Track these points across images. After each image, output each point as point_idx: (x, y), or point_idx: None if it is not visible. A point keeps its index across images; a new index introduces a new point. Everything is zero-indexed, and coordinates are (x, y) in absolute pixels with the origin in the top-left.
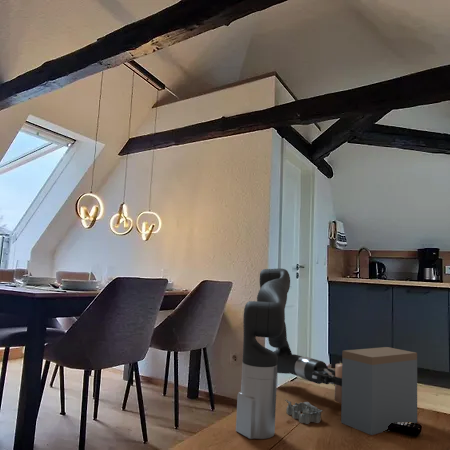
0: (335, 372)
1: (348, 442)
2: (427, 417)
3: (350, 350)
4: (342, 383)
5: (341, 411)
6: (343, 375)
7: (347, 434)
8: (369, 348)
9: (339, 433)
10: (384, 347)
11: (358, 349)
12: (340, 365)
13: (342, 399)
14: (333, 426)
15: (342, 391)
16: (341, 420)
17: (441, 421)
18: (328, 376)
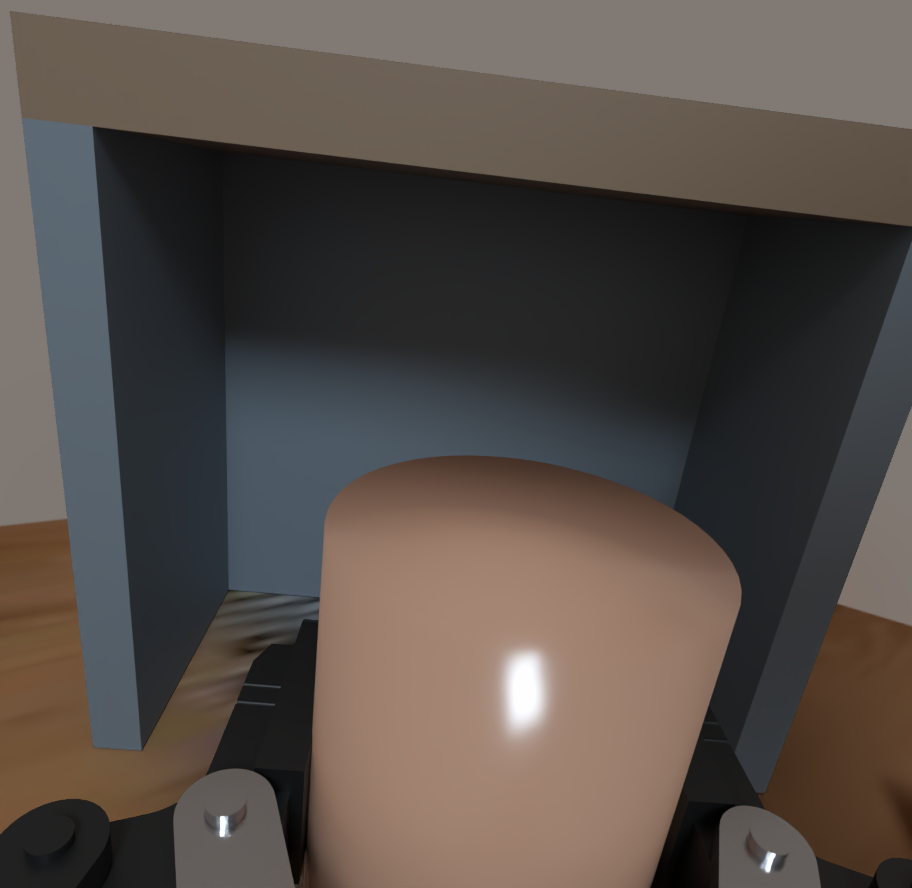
0: (680, 782)
1: (859, 627)
2: (11, 575)
3: (875, 129)
4: (870, 500)
5: (790, 721)
6: (891, 420)
7: (817, 671)
8: (458, 70)
9: (869, 697)
10: (115, 27)
11: (704, 103)
12: (624, 562)
13: (818, 628)
14: (871, 779)
15: (843, 567)
16: (768, 776)
17: (50, 530)
18: (898, 862)
